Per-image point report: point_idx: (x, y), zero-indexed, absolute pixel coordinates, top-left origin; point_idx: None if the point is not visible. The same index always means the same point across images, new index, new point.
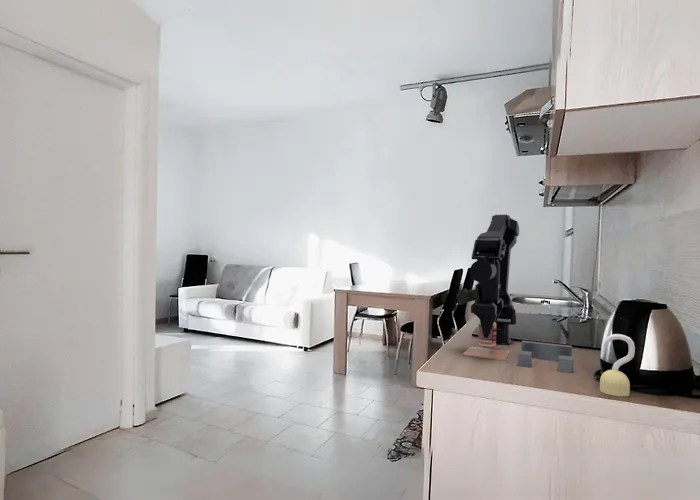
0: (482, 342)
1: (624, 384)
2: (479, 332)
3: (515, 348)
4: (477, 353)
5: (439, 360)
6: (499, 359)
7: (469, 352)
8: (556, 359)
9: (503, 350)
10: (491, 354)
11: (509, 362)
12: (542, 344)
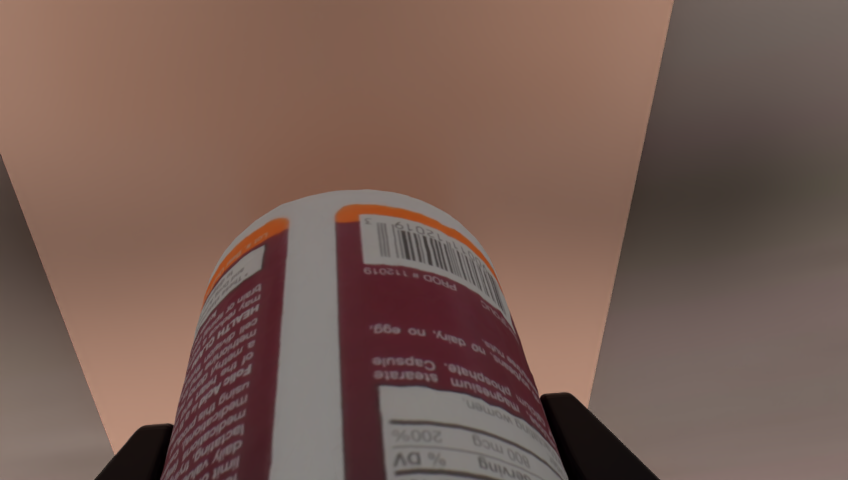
0: (200, 312)
1: None
2: (217, 393)
3: (820, 403)
4: (169, 145)
5: None
6: (102, 401)
7: (135, 15)
8: None
9: (580, 365)
10: None
11: (79, 476)
12: None
